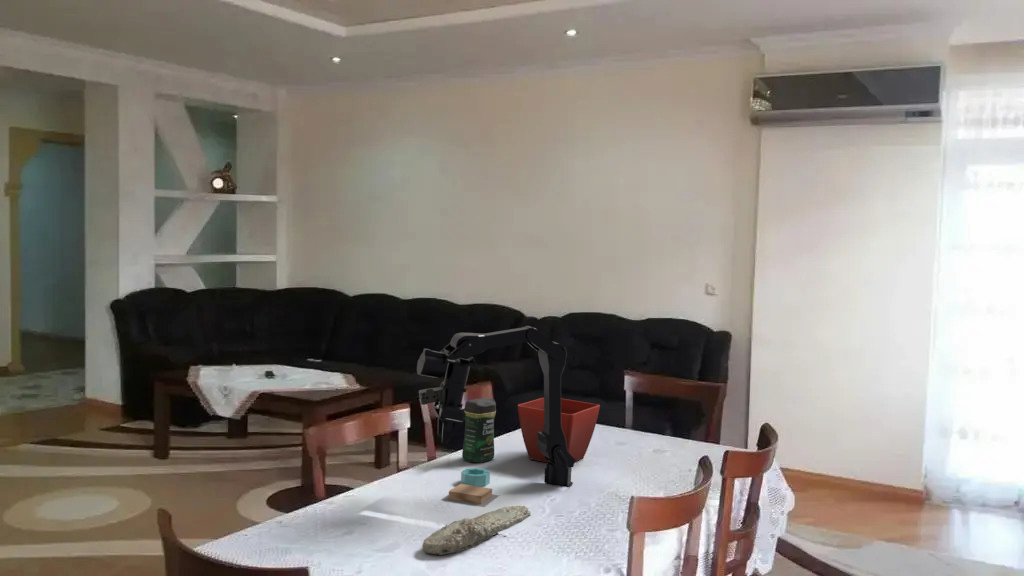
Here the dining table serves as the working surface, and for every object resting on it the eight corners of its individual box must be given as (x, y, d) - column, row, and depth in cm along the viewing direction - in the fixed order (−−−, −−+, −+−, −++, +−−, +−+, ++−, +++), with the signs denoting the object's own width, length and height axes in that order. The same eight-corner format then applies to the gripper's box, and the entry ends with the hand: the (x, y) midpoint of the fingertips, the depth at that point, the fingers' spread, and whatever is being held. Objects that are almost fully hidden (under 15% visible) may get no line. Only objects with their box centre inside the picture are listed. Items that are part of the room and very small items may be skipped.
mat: (499, 499, 220) (499, 495, 220) (484, 510, 211) (484, 506, 211) (457, 492, 225) (457, 488, 225) (440, 503, 216) (440, 499, 215)
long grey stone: (541, 526, 206) (507, 519, 212) (541, 504, 206) (508, 498, 212) (446, 561, 178) (411, 552, 184) (446, 536, 178) (411, 527, 184)
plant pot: (599, 457, 264) (601, 404, 263) (569, 471, 248) (571, 414, 247) (545, 447, 274) (547, 395, 273) (514, 460, 258) (515, 405, 257)
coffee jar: (476, 465, 251) (478, 403, 250) (457, 459, 257) (459, 398, 255) (499, 459, 258) (501, 398, 257) (480, 454, 264) (482, 394, 262)
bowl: (492, 484, 233) (493, 470, 232) (482, 492, 226) (482, 477, 226) (468, 481, 235) (469, 466, 235) (457, 488, 229) (457, 473, 228)
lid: (492, 496, 220) (492, 488, 219) (481, 504, 213) (481, 496, 213) (460, 491, 223) (460, 483, 223) (448, 498, 216) (448, 491, 216)
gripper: (421, 370, 228) (408, 427, 228) (428, 380, 210) (414, 442, 210) (461, 378, 230) (448, 434, 230) (472, 389, 212) (458, 450, 212)
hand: (441, 440), depth 221 cm, fingers open, 9 cm apart
